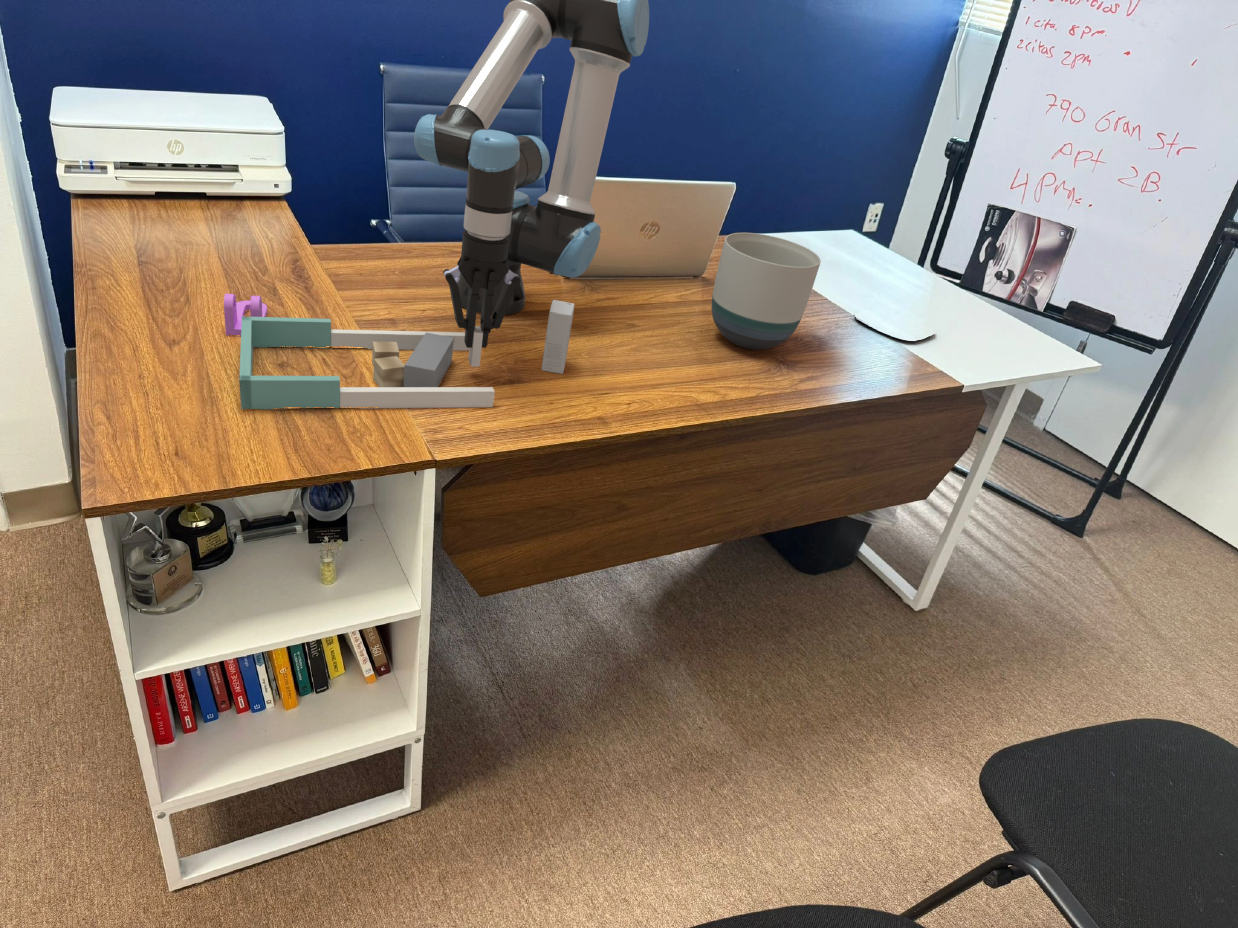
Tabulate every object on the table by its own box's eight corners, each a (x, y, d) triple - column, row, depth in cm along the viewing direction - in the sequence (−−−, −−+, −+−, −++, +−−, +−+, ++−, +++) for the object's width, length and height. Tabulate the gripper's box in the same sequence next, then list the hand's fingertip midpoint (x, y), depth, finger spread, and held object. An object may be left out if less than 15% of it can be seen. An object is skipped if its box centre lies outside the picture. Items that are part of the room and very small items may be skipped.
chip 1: (395, 362, 150) (396, 342, 148) (398, 373, 147) (399, 352, 144) (372, 362, 148) (372, 341, 146) (374, 372, 145) (375, 351, 143)
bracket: (260, 338, 148) (258, 301, 145) (225, 336, 147) (223, 298, 143) (268, 308, 159) (267, 273, 155) (236, 306, 157) (234, 270, 154)
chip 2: (395, 377, 145) (396, 356, 143) (405, 387, 143) (406, 366, 140) (373, 380, 143) (373, 358, 141) (382, 390, 140) (382, 369, 138)
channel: (467, 347, 160) (468, 332, 158) (492, 407, 142) (494, 391, 140) (330, 344, 151) (330, 329, 149) (340, 408, 133) (340, 391, 131)
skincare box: (544, 357, 162) (552, 299, 156) (566, 361, 162) (575, 303, 156) (540, 370, 157) (549, 311, 151) (563, 374, 157) (572, 315, 151)
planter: (739, 318, 199) (763, 229, 188) (809, 353, 188) (839, 261, 177) (682, 331, 185) (705, 236, 174) (754, 371, 174) (783, 272, 163)
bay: (330, 344, 151) (330, 318, 148) (339, 408, 133) (339, 380, 130) (243, 343, 145) (241, 316, 143) (241, 409, 128) (239, 380, 125)
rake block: (451, 362, 154) (453, 337, 151) (432, 397, 142) (434, 370, 139) (424, 357, 154) (426, 332, 151) (403, 391, 142) (404, 365, 139)
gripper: (519, 227, 142) (505, 354, 154) (442, 222, 137) (433, 353, 150) (531, 243, 137) (514, 373, 149) (450, 238, 132) (440, 373, 144)
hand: (473, 363), depth 149 cm, fingers closed
